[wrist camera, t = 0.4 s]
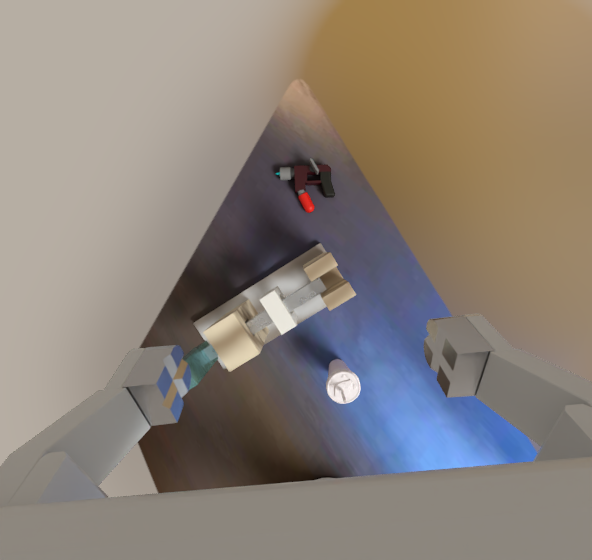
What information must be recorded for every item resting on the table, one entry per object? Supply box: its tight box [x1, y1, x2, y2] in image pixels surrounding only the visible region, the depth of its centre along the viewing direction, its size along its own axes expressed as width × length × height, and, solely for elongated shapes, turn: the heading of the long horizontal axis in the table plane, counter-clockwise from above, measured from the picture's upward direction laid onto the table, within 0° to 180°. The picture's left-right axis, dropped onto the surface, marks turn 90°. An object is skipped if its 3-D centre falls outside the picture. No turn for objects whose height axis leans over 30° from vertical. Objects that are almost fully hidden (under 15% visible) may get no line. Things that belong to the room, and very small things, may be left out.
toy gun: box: [276, 158, 335, 213], centre depth 58 cm, size 10×12×5 cm
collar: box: [260, 286, 297, 335], centre depth 52 cm, size 7×3×7 cm, turn 32°
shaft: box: [182, 277, 327, 390], centre depth 48 cm, size 4×27×11 cm, turn 122°
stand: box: [193, 243, 356, 372], centre depth 55 cm, size 12×32×15 cm, turn 122°
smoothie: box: [326, 359, 361, 404], centre depth 56 cm, size 6×6×14 cm
